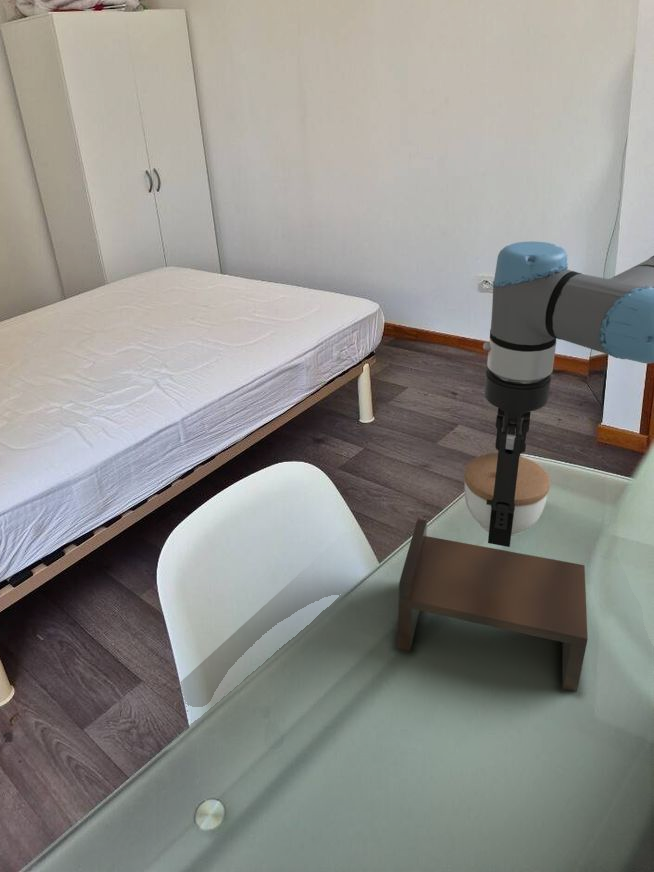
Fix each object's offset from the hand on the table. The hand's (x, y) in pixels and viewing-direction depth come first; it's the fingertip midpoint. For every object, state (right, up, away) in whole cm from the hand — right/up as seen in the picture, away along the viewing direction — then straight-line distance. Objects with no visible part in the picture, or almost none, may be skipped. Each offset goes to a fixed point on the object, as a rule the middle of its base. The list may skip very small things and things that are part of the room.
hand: (502, 516), depth 93 cm
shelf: (0, -19, +8) cm, 20 cm away
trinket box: (0, -1, 0) cm, 1 cm away
